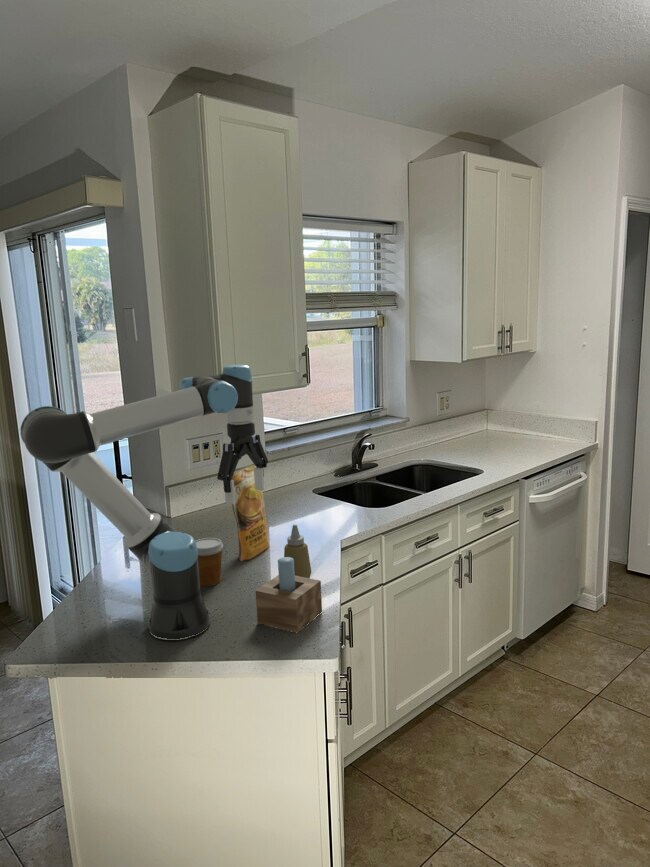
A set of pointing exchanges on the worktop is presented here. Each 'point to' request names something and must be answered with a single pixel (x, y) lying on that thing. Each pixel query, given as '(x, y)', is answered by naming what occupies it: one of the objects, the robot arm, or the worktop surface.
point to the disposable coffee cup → (209, 560)
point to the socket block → (289, 604)
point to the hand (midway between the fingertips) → (245, 496)
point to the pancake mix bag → (249, 515)
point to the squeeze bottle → (298, 553)
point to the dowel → (286, 574)
